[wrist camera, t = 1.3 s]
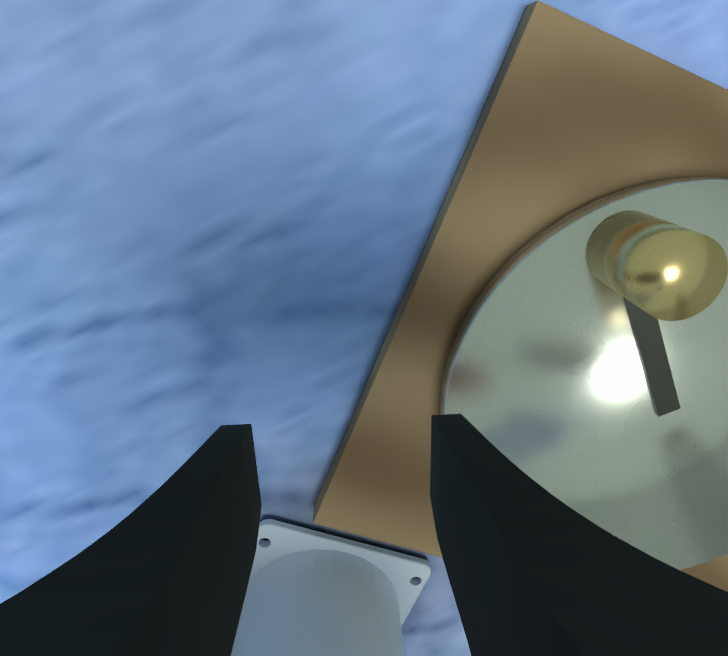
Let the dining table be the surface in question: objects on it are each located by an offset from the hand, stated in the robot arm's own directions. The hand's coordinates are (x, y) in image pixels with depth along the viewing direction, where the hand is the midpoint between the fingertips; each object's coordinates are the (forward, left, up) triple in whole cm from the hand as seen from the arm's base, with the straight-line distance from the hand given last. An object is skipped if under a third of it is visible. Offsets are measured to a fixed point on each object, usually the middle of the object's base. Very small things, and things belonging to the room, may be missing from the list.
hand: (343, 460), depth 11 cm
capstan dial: (+1, -12, -8) cm, 15 cm away
